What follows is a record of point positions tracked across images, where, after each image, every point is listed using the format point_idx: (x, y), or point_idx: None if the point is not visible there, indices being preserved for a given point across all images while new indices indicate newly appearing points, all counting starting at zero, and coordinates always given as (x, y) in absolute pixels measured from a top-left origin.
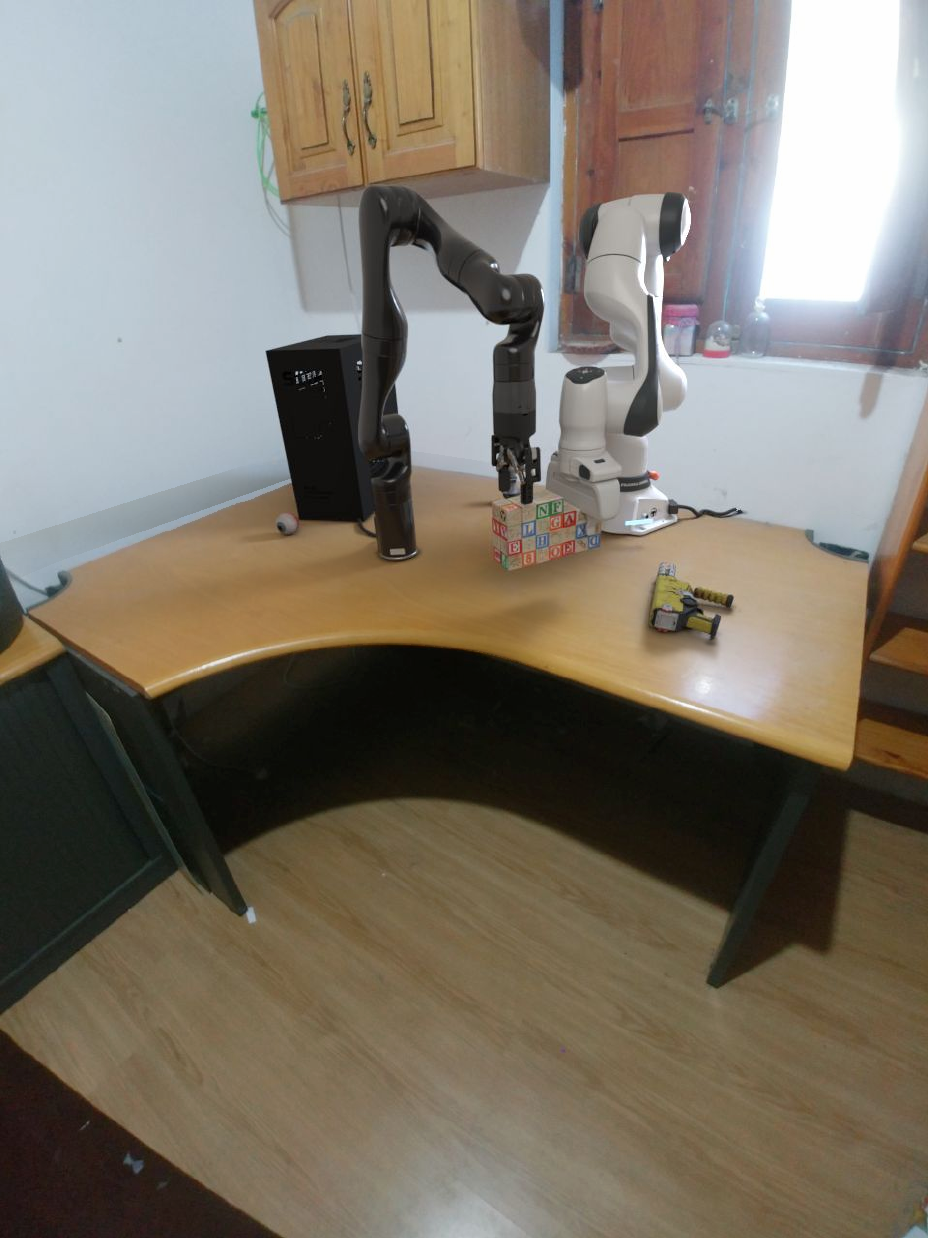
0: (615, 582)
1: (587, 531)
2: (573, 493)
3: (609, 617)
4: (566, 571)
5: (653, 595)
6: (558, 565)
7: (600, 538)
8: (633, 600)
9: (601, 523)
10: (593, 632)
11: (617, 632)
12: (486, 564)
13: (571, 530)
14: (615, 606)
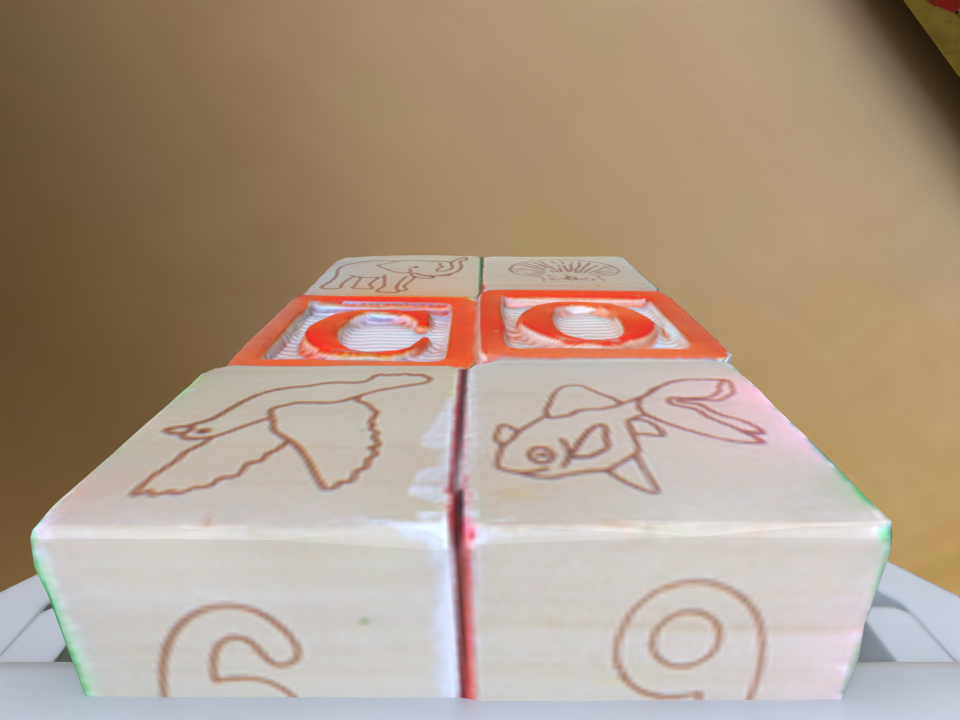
0: (529, 26)
1: None
2: None
3: (813, 316)
4: (258, 209)
5: (950, 25)
6: (160, 204)
7: (645, 278)
8: (770, 86)
9: (708, 334)
10: (857, 447)
11: (931, 364)
12: (22, 519)
13: None
14: (754, 222)
